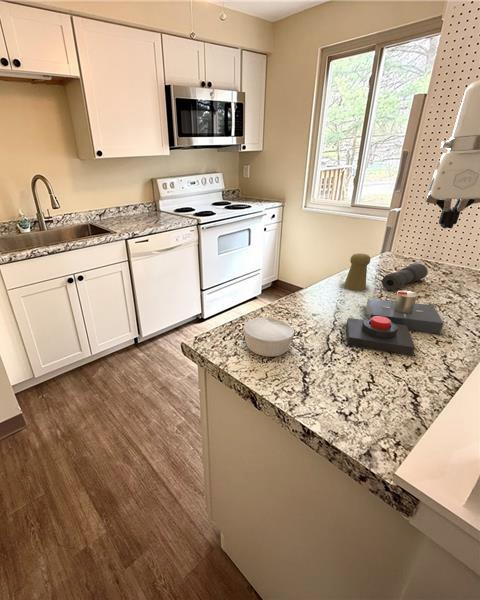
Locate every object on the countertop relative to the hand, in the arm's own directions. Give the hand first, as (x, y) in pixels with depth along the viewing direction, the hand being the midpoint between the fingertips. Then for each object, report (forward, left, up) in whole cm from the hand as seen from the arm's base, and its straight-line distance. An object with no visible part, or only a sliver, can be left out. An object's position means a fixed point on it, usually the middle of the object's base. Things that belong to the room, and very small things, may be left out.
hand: (446, 226), depth 76 cm
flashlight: (+2, -16, -22) cm, 27 cm away
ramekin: (+35, +34, -22) cm, 54 cm away
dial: (+6, +10, -19) cm, 22 cm away
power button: (+12, +22, -18) cm, 31 cm away
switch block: (+12, +22, -22) cm, 33 cm away
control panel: (+6, +10, -22) cm, 25 cm away
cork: (+15, -10, -22) cm, 29 cm away
